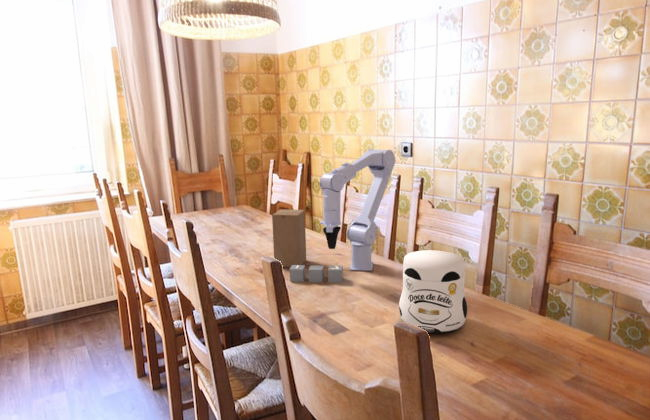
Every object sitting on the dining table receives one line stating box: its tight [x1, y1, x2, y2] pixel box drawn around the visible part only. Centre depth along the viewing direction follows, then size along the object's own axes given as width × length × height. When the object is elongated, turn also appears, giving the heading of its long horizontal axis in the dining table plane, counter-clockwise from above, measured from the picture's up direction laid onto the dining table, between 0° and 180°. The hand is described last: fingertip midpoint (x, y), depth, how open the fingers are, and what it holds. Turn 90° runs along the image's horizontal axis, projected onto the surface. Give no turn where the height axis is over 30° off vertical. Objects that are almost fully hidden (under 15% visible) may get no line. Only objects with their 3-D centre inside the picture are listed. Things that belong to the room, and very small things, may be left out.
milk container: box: [398, 249, 468, 334], centre depth 119 cm, size 17×17×18 cm
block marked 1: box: [289, 264, 306, 283], centre depth 156 cm, size 4×4×5 cm
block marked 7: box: [327, 265, 344, 284], centre depth 154 cm, size 4×4×5 cm
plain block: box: [308, 264, 325, 283], centre depth 155 cm, size 4×4×4 cm
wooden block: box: [271, 209, 307, 268], centre depth 172 cm, size 10×10×20 cm
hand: (332, 248), depth 155 cm, fingers closed
